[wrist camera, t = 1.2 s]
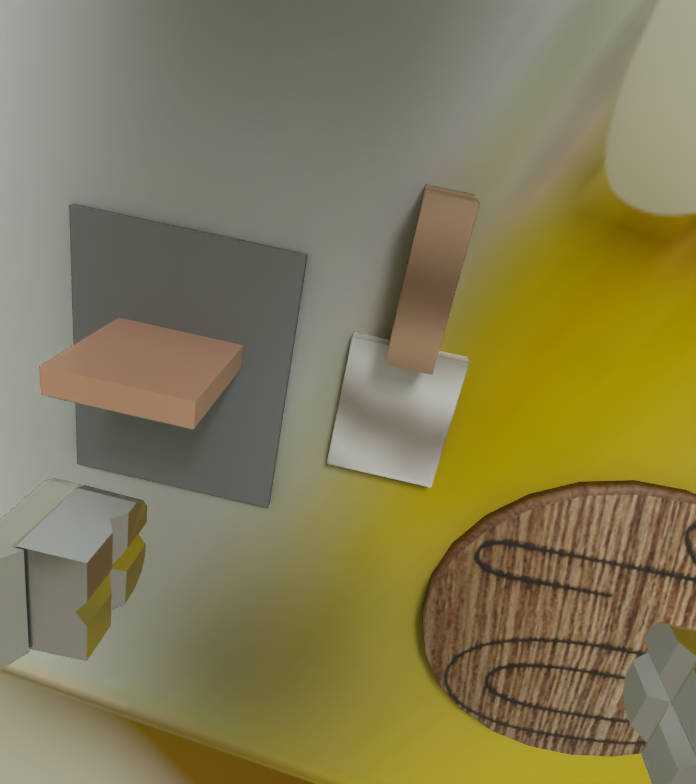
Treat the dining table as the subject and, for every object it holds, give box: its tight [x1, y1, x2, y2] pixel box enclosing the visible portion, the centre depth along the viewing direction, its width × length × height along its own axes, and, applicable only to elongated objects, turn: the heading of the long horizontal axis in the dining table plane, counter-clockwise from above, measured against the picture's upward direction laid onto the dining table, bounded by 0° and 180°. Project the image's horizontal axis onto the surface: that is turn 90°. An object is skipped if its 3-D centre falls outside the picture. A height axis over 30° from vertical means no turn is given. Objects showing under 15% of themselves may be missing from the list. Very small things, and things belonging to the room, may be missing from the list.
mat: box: [69, 204, 307, 508], centre depth 36 cm, size 18×14×1 cm
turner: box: [327, 184, 480, 488], centre depth 32 cm, size 18×7×4 cm, turn 169°
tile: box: [39, 318, 243, 429], centre depth 32 cm, size 2×8×8 cm, turn 79°
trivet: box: [423, 480, 696, 756], centre depth 41 cm, size 25×25×2 cm
